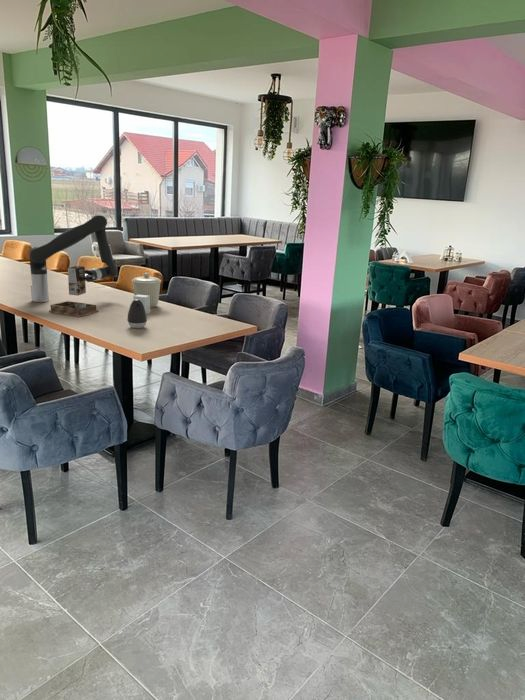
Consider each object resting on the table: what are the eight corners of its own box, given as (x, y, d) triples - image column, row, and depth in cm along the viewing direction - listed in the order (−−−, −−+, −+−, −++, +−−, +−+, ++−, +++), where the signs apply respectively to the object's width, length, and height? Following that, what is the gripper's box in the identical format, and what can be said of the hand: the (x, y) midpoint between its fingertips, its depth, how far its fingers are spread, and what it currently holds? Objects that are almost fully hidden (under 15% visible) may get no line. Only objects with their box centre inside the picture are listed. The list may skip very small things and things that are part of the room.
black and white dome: (129, 330, 278) (128, 301, 274) (126, 325, 287) (125, 297, 283) (149, 329, 282) (148, 301, 278) (145, 324, 291) (144, 297, 287)
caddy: (49, 311, 308) (48, 303, 307) (68, 306, 322) (68, 298, 321) (79, 316, 300) (79, 308, 299) (98, 311, 315) (97, 303, 313)
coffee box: (78, 295, 316) (77, 268, 311) (68, 294, 317) (67, 267, 312) (86, 293, 324) (85, 266, 319) (76, 292, 325) (75, 265, 321)
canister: (141, 310, 322) (140, 275, 316) (126, 305, 335) (126, 271, 329) (167, 307, 334) (167, 274, 328) (152, 302, 347) (151, 269, 340)
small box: (150, 313, 318) (150, 295, 315) (145, 314, 313) (145, 297, 310) (138, 311, 320) (138, 294, 317) (133, 313, 315) (133, 295, 312)
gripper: (82, 267, 332) (64, 271, 317) (101, 270, 327) (83, 273, 312) (83, 279, 334) (65, 283, 319) (102, 282, 329) (84, 286, 314)
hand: (74, 278), depth 316 cm, fingers closed on coffee box, 7 cm apart
